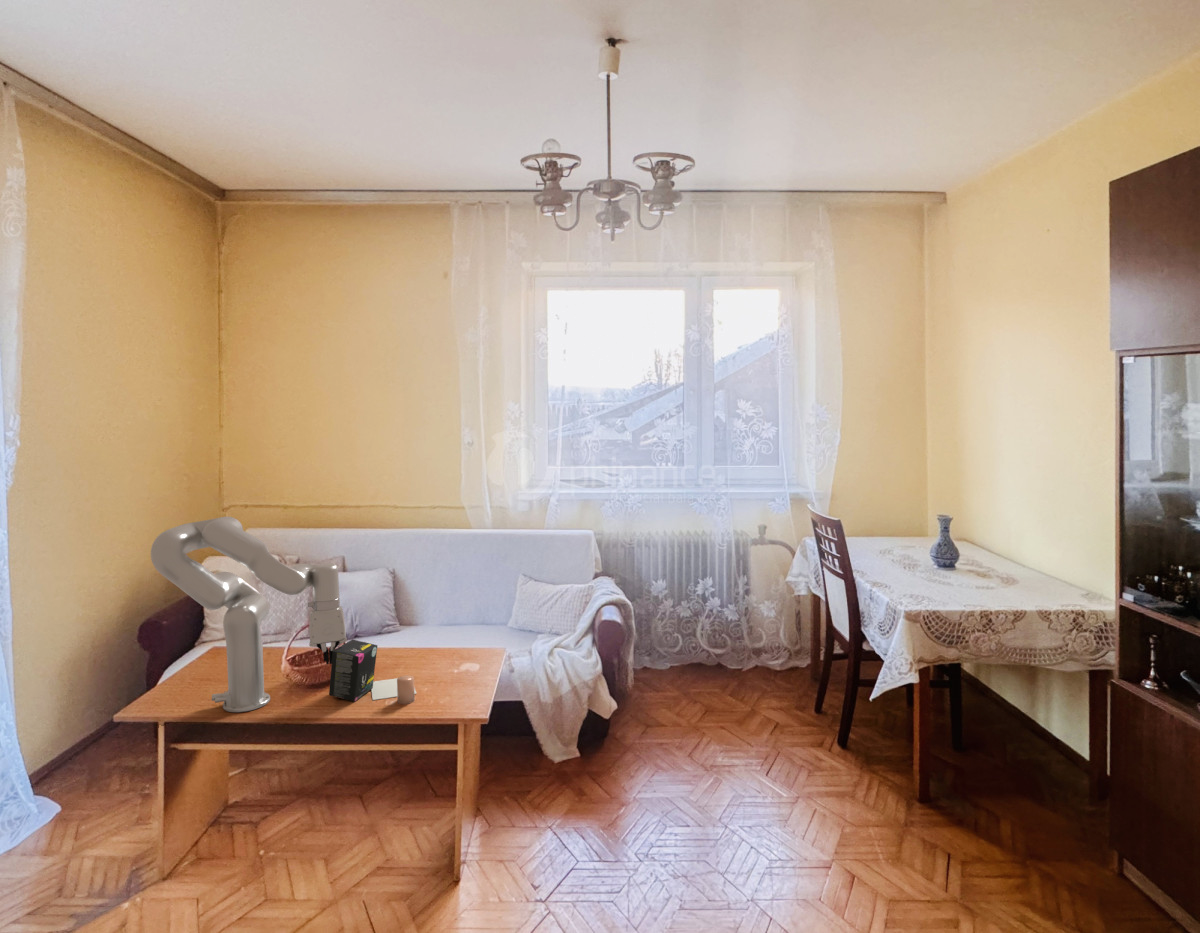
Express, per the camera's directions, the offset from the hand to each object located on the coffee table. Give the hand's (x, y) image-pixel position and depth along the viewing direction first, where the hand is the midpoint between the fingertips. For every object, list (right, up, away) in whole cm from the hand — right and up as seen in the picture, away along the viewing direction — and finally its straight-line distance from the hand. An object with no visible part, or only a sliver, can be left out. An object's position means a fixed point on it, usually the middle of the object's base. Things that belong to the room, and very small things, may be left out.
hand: (329, 662), depth 203 cm
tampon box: (+6, -10, +3) cm, 12 cm away
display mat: (+17, -11, +8) cm, 22 cm away
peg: (+24, -11, -2) cm, 27 cm away
